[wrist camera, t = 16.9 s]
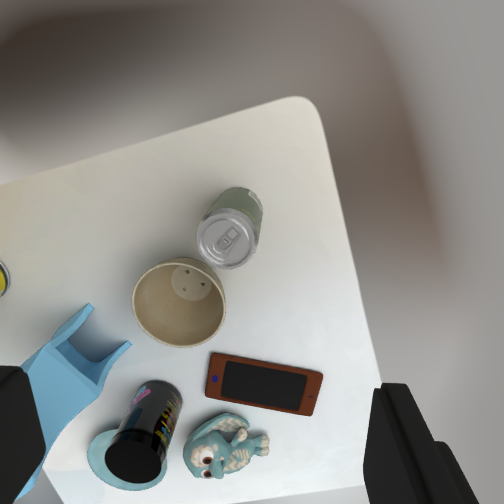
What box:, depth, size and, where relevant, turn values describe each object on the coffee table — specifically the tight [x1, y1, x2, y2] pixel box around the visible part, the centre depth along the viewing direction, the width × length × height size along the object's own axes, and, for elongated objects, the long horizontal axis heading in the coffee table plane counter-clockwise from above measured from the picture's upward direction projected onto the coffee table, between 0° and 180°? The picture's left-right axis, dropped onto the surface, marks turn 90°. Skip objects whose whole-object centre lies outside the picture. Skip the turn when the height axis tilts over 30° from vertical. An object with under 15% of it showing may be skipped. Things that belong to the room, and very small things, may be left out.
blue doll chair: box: [15, 304, 132, 501], centre depth 40 cm, size 8×8×20 cm
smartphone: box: [205, 353, 323, 416], centre depth 49 cm, size 7×1×15 cm
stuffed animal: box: [183, 413, 269, 479], centre depth 50 cm, size 11×7×12 cm
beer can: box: [196, 187, 263, 269], centre depth 36 cm, size 5×5×12 cm
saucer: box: [87, 429, 167, 491], centre depth 54 cm, size 12×12×2 cm
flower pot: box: [132, 258, 226, 348], centre depth 42 cm, size 10×10×7 cm
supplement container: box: [104, 381, 182, 484], centre depth 47 cm, size 7×7×10 cm
